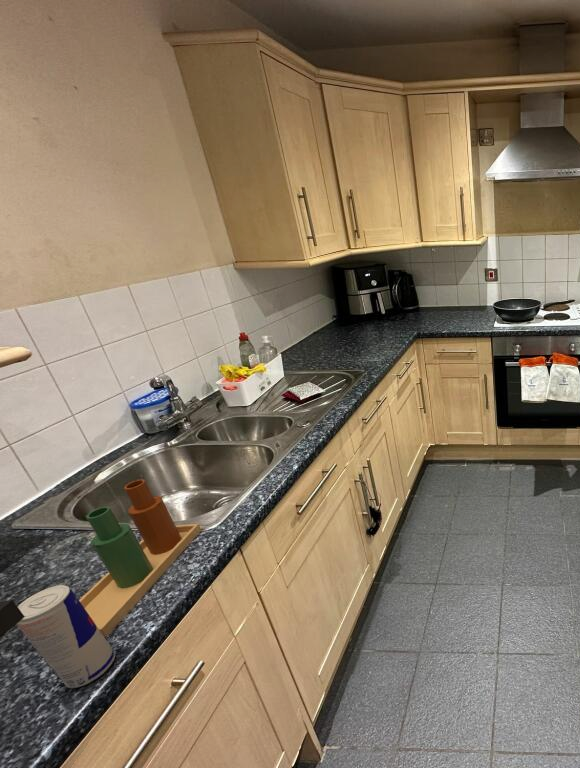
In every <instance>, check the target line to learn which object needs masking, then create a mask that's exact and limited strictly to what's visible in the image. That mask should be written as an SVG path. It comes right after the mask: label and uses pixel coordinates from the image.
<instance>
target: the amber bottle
mask: <svg viewBox="0 0 580 768" xmlns="http://www.w3.org/2000/svg"><path fill="white" fill-rule="evenodd" d="M124 491H125V493H126V495H127V497H128V498H129V500H130V503H131V504H132V505H131V506H130V507H129V508H128V510H127V512H128V514H129V516H130V518H131V520H132V522H133V524H134V526H135V527H136V529H137V531H138V533H139V535H140V537H141V539H142V540H144V542H145V544H146V546H147V547H148V549H149V551H150V553H151V554H153V555H157V554H162V553H165V552H168V551H170V550H172V549H173V548H174V547H175V546H176V545H177V544H178V543H179V542H180V541H181V539H182V538H181V536H180V534H179V532H178V530H177V528H176V524H175V522H174V520H173V518H172V516H171V513H170V512H169V509H168V508H167V506H166V503H165V502H164V500H163V498H162V496H159V495H155V496H153V493H152V492H151V490H150V488H149V485H148V484H147V482H146V480H145V479H135V480H133V481H131V482H128V483H127V484H126V485H124Z"/></svg>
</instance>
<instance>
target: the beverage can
mask: <svg viewBox="0 0 580 768" xmlns="http://www.w3.org/2000/svg"><path fill="white" fill-rule="evenodd" d="M79 600H80V599H79V598H78V597H77V595H76V594H75V592H74V591H73V590H72V589H71V588H70V587H69V586H68V585H64V584H62V585H54V586H51V587H48V588H45V589H43V590H41V591H39V592H36V593H35V594H33V595H31V596H29V597H27V599H25V600H24V601H22V602H21V603H20V604H19V605H17V607H18V608H19V610H20V611H21V612H22V614H23V615H24V616H25V617H24V618H23V619H22V620H21V621H20V622H18V623H17V624H16V626H17V627H18V629H20V632H22V633H23V634H24V636H25V637H26V638H27V639H28V641H29V642H30V643H31V645H32V646H33V647H34V648H35V649H36V651H37V652H38V653H39V654H40V656H41V657H42V658H43V659H44V661H45V663H47V664H48V666H49V667H50V668H51V669H52V671H53V672H54V673H55V675H56V676H57V677H58V678H59V680H60V682H62V683H63V684H64V686H65V687H66V688H68V689H77V688H80V687H83V686H86V685H88V684H90V683H92V682H94V681H96V680H97V679H98V678H100V677H101V676H102V675H103V674H104V673H105V672H107V670H108V669H109V668H110V667H111V665H112V664H113V662H114V661H115V657H116V652H115V650H114V649H113V648H112V645H110V643H109V642H108V640H107V639H106V637H104V636H103V635H102V633H101V632H100V630H99V629H98V627H97V626H96V624H95V623H94V621H93V620H92V619H91V617H90V616H89V614H88V613H87V611H86V610H85V608H84V607H83V605H82V604H81V602H80V601H79Z"/></svg>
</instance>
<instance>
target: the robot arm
mask: <svg viewBox="0 0 580 768" xmlns="http://www.w3.org/2000/svg"><path fill="white" fill-rule="evenodd" d="M24 617H25V616H24V615H23V614H22V612H21V611H20V610H19V608H18V605H17V604H16V603H15V601H14V600H13V599H10V600H5V601H4V602H2V603H1V604H0V639H1V638H3V637H4V636H5V635H6V634H7V633H8V632H10V630H12V629H13V628H14V627H15V626H17V623H18V622H20V621H21V620H22V619H23V618H24Z"/></svg>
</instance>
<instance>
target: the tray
mask: <svg viewBox="0 0 580 768" xmlns="http://www.w3.org/2000/svg"><path fill="white" fill-rule="evenodd" d="M175 526H176V528H177V530H178V532H179V534H180V536H181V538H182V539H181V541H180V542H179V543H178V544H177V545H176V546H175V547H174V548H173V549H172V550H170V551H168V552H165V553H162V554H157V555H153V554H151V553H150V551H149V549H148V547H147V546H146V544H145V542H144V540H143V539H142V540H141V541H139V543H140V545H141V547H142V549H143V551H144V553H145V554H146V556H147V558H148V560H149V562H150V563H151V565H152V567H153V571H152V572H151V573H150V574H149V575H148V576H147V577H146V578H145V579H144V580H143V581H142V582H141V583H139V584H137V585H135V586H132V587H129V588H119V587H118V586H117V585H116V583H115V581H114V580H113V578H112V576H111V575H110V573H109V572H107V573H106V574H105V575H104V576H102V578H101V579H100V580H98V582H97V583H96V584H94V585H93V586H92V587H91V588H90V589H89V590H88V591H87V592H86V593H85V594H84V595H82V596H81V598H80V599H78V600H79V601H80V602H81V604H82V605H83V607H84V608H85V610H86V611H87V613H88V614H89V616H90V617H91V619H92V620H93V621H94V623H95V624H96V626H97V627H98V629H99V630H100V632H101V633H102V635H103V636H104V637H105V638H107V637H108V636H109V635H110V634H111V633H112V631H114V629H115V628H116V627H117V626H118V625H119V624H120V623H121V621H122V620H123V619H124V618H125V617H126V616H127V615H128V614H129V613H130V611H131V610H132V609H133V608H134V607H135V606H136V605H137V604H138V602H139V601H140V600H141V599H142V598H143V597H144V596H145V595H146V594H147V592H148V591H149V590H150V589H151V588H152V587H153V585H154V584H155V583H157V581H158V580H159V579H160V578H161V577H162V575H164V573H165V572H166V571H167V570H168V569H169V568H170V566H171V565H172V564H174V562H175V561H176V560H177V559H178V558H179V557H180V556H181V554H182V553H183V552H185V550H186V549H187V548H188V546H190V545H191V543H192V542H193V541H194V540H195V539H196V538H197V537H198V535H199V534H200V533H201V532H202V531H203V530H202V527H201V525H200V523H190V524H177V525H176V524H175Z"/></svg>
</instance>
